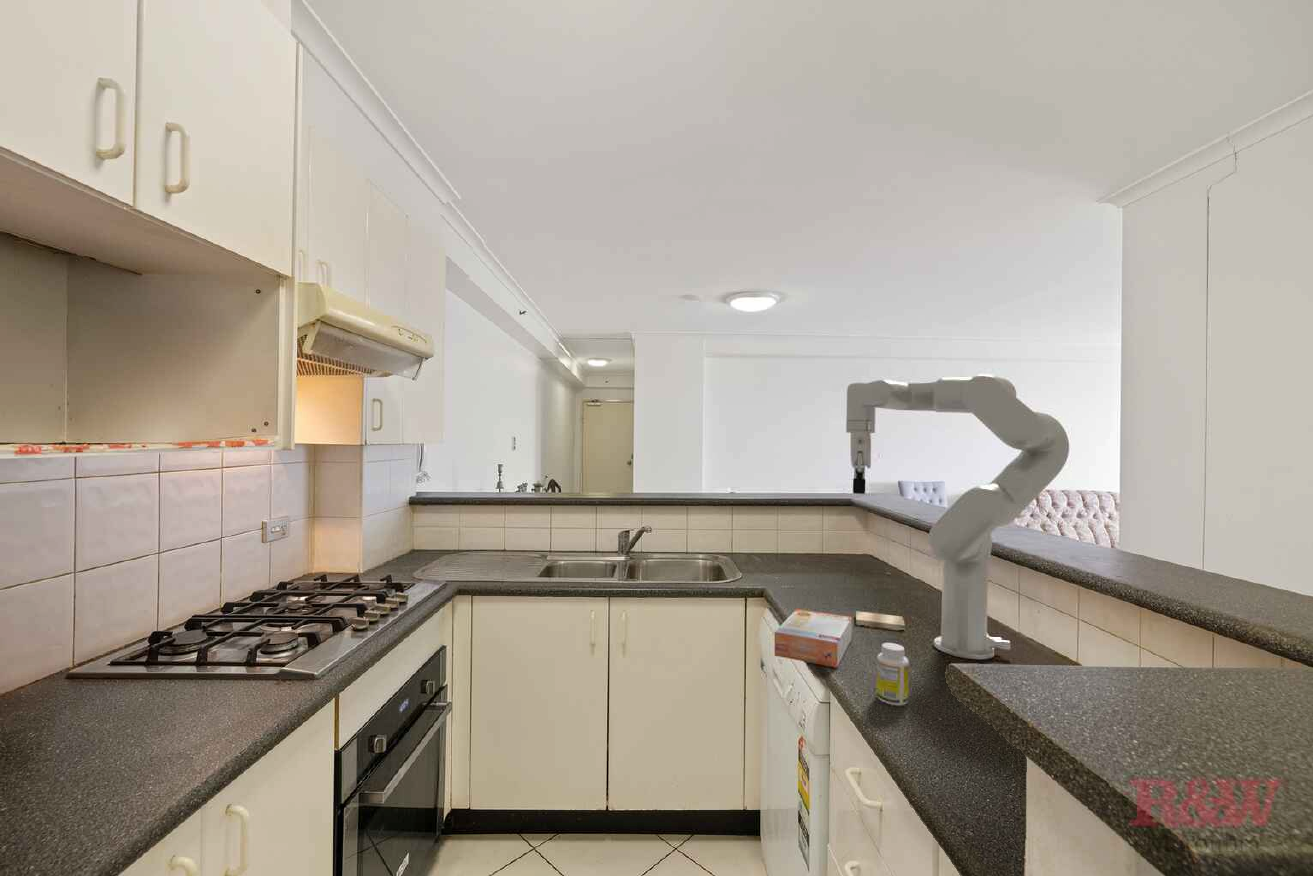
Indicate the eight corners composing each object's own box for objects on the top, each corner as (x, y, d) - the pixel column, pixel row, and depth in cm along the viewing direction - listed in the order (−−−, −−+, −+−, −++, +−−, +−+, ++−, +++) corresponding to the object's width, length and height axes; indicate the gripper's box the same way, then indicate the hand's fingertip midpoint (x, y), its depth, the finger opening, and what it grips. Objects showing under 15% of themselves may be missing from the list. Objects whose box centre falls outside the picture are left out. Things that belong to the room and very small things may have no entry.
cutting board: (902, 622, 152) (902, 616, 152) (904, 631, 144) (905, 625, 144) (856, 616, 156) (856, 611, 156) (856, 625, 148) (856, 619, 148)
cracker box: (796, 631, 143) (772, 656, 125) (796, 607, 143) (773, 629, 125) (852, 641, 136) (837, 669, 118) (853, 616, 137) (837, 641, 118)
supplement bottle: (898, 693, 108) (899, 640, 108) (914, 707, 102) (915, 651, 102) (870, 693, 107) (872, 641, 107) (885, 707, 102) (886, 652, 102)
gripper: (876, 426, 145) (874, 496, 145) (873, 428, 159) (872, 492, 159) (846, 426, 148) (844, 494, 147) (846, 428, 162) (844, 490, 162)
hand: (858, 493), depth 153 cm, fingers closed
